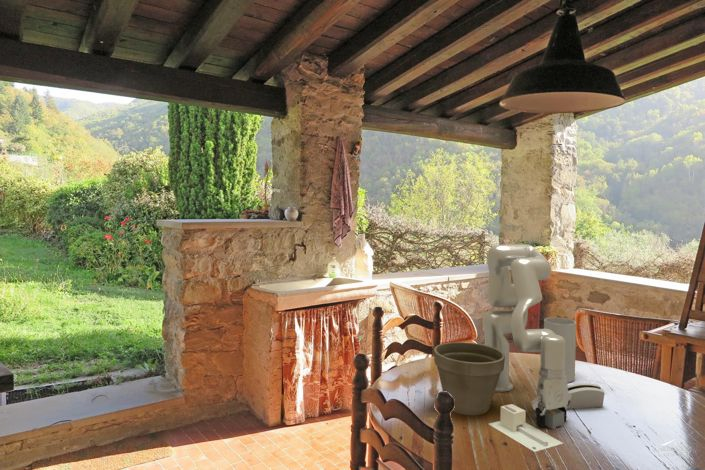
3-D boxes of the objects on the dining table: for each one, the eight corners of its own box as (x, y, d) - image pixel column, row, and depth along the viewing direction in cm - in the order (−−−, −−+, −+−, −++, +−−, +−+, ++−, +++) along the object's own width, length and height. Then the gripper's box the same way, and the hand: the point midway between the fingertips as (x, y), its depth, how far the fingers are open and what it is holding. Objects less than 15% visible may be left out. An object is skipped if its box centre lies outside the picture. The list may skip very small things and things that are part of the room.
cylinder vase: (537, 377, 202) (538, 320, 201) (551, 371, 210) (552, 316, 209) (566, 385, 193) (567, 326, 191) (579, 378, 201) (581, 321, 199)
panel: (488, 427, 156) (488, 420, 156) (515, 420, 161) (515, 413, 161) (534, 455, 138) (534, 447, 138) (563, 447, 143) (563, 439, 143)
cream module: (500, 424, 155) (500, 405, 155) (511, 421, 158) (512, 403, 157) (513, 431, 150) (513, 412, 150) (525, 428, 152) (525, 410, 152)
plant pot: (516, 409, 170) (517, 350, 169) (482, 432, 152) (482, 367, 151) (456, 391, 187) (457, 337, 186) (419, 409, 170) (420, 350, 169)
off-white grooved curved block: (594, 400, 177) (601, 379, 174) (602, 410, 173) (608, 388, 169) (553, 403, 175) (558, 381, 172) (559, 412, 171) (565, 390, 167)
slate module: (538, 425, 157) (538, 407, 157) (549, 422, 159) (549, 404, 159) (552, 433, 152) (553, 414, 152) (563, 430, 154) (564, 411, 154)
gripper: (542, 380, 148) (541, 433, 148) (580, 372, 155) (579, 422, 156) (524, 372, 154) (523, 423, 155) (561, 365, 162) (560, 413, 163)
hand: (551, 422), depth 156 cm, fingers open, 9 cm apart
